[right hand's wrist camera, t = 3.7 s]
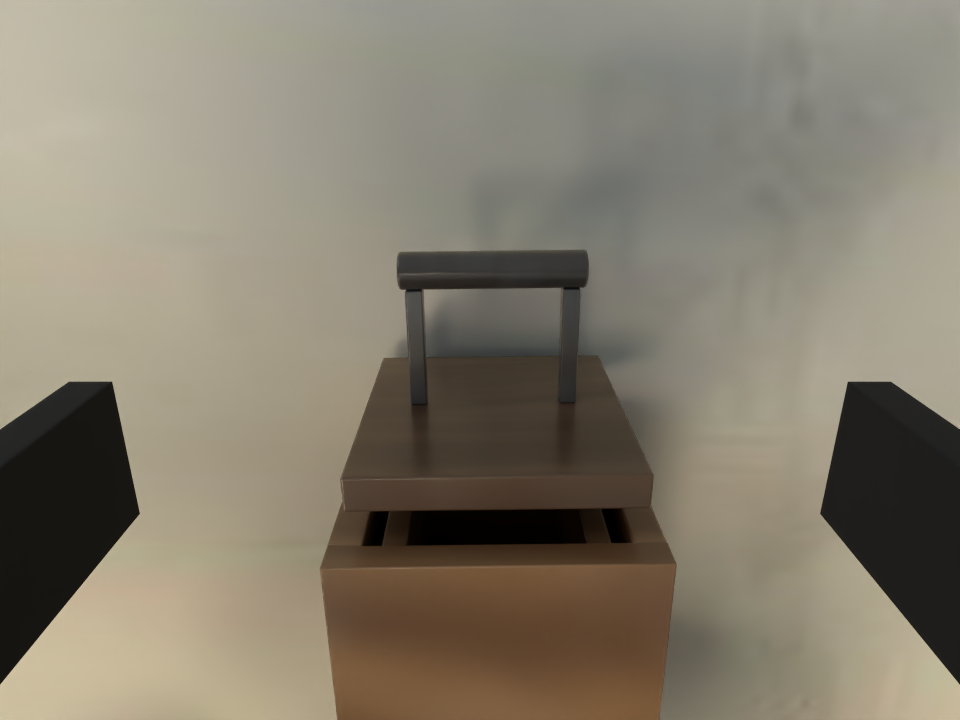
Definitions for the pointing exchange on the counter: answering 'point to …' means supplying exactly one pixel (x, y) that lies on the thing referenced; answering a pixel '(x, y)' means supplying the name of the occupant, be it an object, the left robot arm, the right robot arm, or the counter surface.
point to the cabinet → (498, 624)
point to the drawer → (494, 424)
